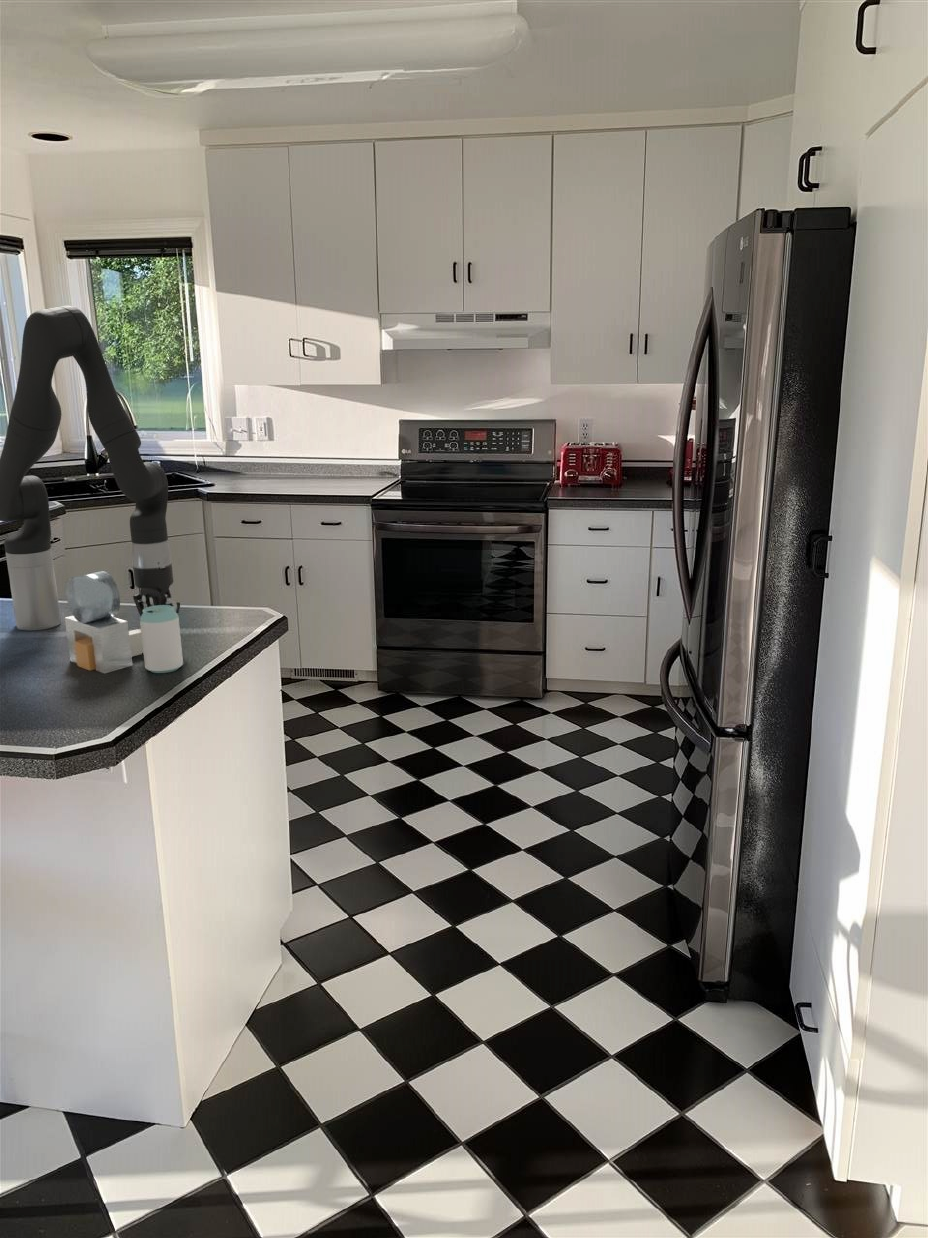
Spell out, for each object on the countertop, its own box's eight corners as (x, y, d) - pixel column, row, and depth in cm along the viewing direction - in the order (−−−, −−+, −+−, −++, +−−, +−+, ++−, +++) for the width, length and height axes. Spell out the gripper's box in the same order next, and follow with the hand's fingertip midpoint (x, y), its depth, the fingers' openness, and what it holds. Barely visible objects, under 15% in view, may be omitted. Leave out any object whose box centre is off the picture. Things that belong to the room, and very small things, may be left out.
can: (169, 676, 183) (162, 614, 179) (137, 672, 185) (130, 612, 182) (190, 664, 189) (184, 605, 186) (160, 661, 191) (153, 602, 188)
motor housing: (70, 661, 192) (58, 572, 187) (98, 653, 197) (87, 567, 192) (104, 673, 185) (93, 582, 180) (132, 665, 189) (122, 575, 184)
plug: (77, 665, 189) (74, 641, 188) (163, 641, 204) (160, 618, 202) (89, 670, 186) (86, 645, 185) (175, 645, 201) (173, 622, 200)
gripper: (116, 561, 197) (125, 642, 202) (156, 570, 189) (165, 655, 194) (148, 555, 203) (156, 634, 208) (188, 563, 194) (196, 645, 199)
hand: (160, 643), depth 201 cm, fingers closed on plug, 2 cm apart
